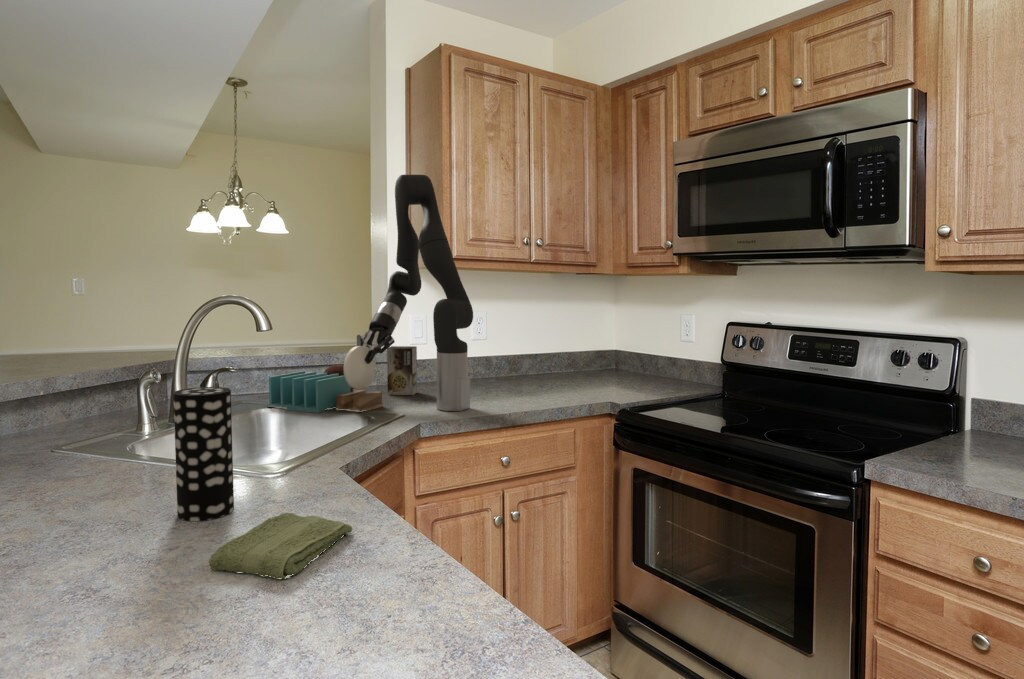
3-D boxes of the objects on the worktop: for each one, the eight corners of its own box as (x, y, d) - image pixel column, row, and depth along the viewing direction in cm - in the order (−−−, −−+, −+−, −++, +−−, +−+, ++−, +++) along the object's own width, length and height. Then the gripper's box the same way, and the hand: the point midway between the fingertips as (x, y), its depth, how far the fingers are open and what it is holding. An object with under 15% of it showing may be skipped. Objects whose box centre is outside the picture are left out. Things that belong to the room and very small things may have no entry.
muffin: (316, 393, 218) (315, 364, 217) (346, 390, 225) (346, 362, 224) (331, 398, 208) (330, 368, 208) (362, 395, 216) (361, 365, 215)
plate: (376, 386, 198) (375, 344, 197) (349, 392, 186) (348, 348, 185) (371, 385, 199) (369, 344, 198) (344, 392, 187) (342, 347, 186)
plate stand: (382, 406, 196) (382, 391, 196) (360, 412, 186) (360, 397, 186) (358, 404, 200) (358, 389, 199) (335, 410, 189) (335, 395, 189)
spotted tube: (241, 503, 109) (238, 387, 107) (221, 521, 101) (217, 395, 99) (192, 503, 109) (188, 386, 107) (167, 521, 100) (163, 395, 99)
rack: (352, 403, 200) (352, 374, 199) (318, 412, 185) (317, 381, 184) (303, 398, 207) (303, 370, 207) (267, 407, 193) (266, 377, 192)
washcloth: (356, 534, 97) (356, 513, 97) (288, 587, 80) (288, 562, 80) (280, 525, 100) (280, 505, 100) (200, 574, 83) (199, 550, 83)
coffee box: (417, 392, 222) (417, 346, 221) (413, 395, 216) (412, 348, 215) (392, 391, 223) (391, 345, 222) (386, 394, 217) (386, 347, 215)
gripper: (362, 311, 203) (338, 353, 193) (399, 311, 198) (376, 354, 188) (373, 327, 209) (350, 368, 198) (409, 327, 203) (387, 370, 193)
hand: (363, 361), depth 193 cm, fingers closed on plate, 2 cm apart
